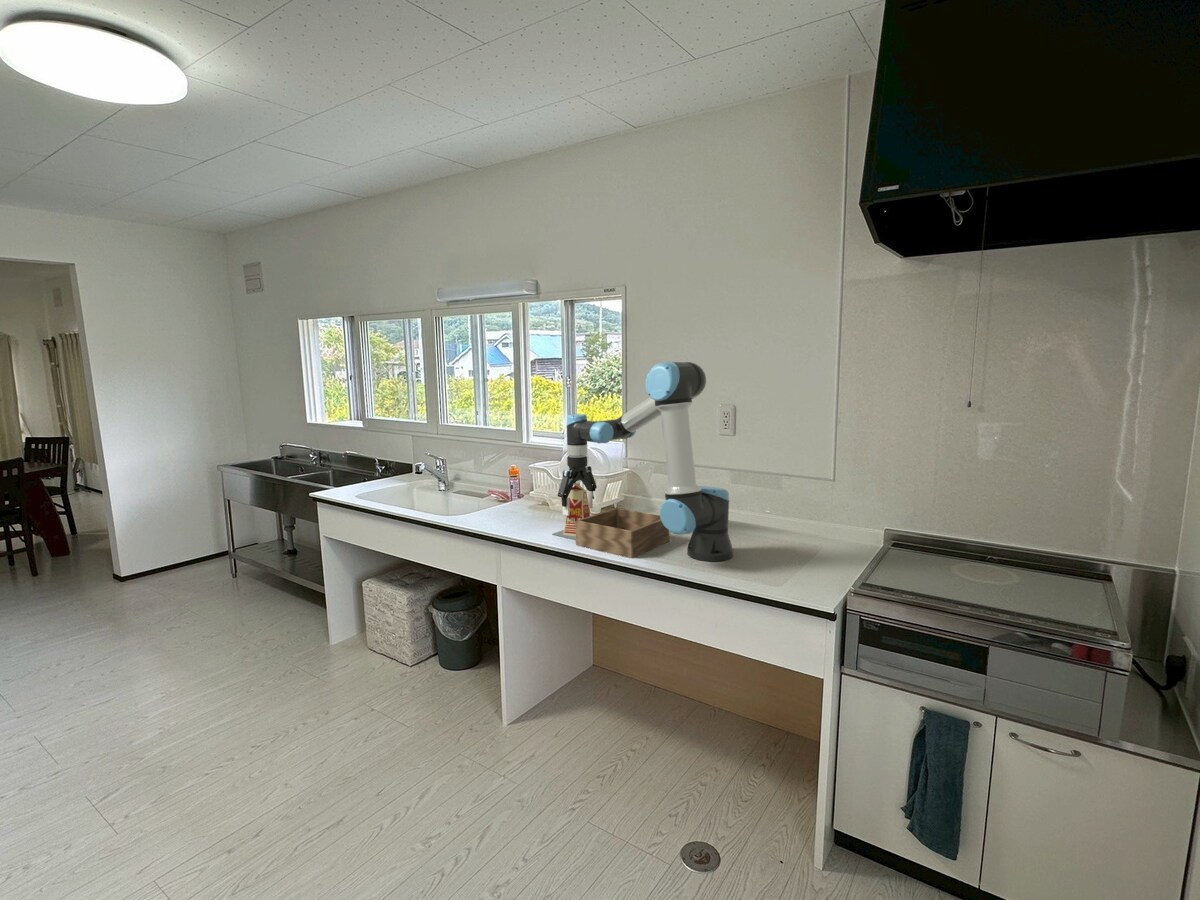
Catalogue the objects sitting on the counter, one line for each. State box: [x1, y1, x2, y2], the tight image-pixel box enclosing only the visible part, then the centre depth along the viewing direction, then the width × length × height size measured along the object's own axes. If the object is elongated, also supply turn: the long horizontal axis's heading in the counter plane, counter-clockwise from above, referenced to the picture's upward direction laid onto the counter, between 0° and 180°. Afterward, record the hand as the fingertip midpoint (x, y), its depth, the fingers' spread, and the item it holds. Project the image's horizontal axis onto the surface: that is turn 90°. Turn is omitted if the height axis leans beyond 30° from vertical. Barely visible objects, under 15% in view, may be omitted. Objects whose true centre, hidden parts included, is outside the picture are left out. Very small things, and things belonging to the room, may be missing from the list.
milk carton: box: [563, 482, 591, 536], centre depth 230 cm, size 9×9×20 cm
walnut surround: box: [575, 507, 670, 559], centre depth 219 cm, size 24×24×9 cm
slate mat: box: [551, 529, 576, 541], centre depth 232 cm, size 14×14×1 cm
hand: (577, 511), depth 231 cm, fingers open, 13 cm apart
